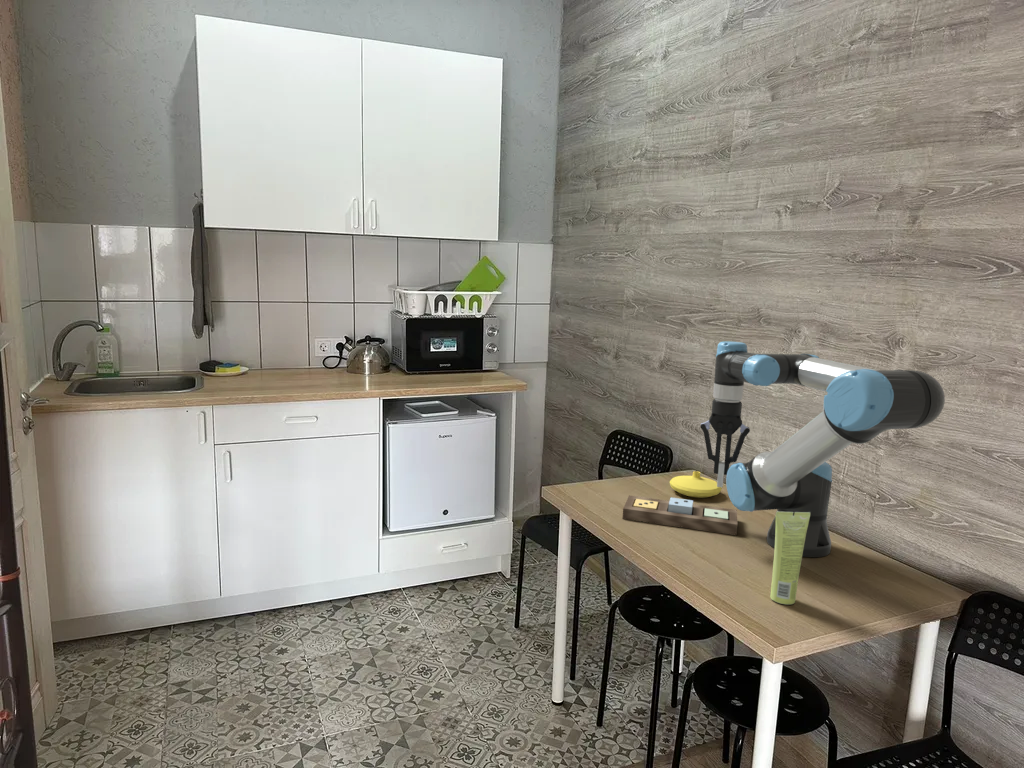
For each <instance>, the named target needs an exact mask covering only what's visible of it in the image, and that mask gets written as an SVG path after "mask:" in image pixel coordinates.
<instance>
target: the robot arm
mask: <svg viewBox="0 0 1024 768" xmlns="http://www.w3.org/2000/svg"><path fill="white" fill-rule="evenodd" d="M745 383H747V384H750V385H753V386H759V387H760V386H761V387H768V386H770V385H773V384H774V385H775V384H776V385H778V384H782V385H783V384H784V385H785V384H789V385H791V384H792V385H799V386H802V387H806V388H810V389H814V390H819V391H822V392H826V393H827V394H825V395H823V405H822V411H821V412H820V413H819V414H817V416H816V415H815V417H814V418H812V419H811V420H810V421H809V422H807V424H805V425H804V426H802V427H801V428H800V429H799V430H798V431H796V432H795V433H794V434H793V435H791V436H790V437H789V438H788V439H786V440H785V441H784V442H783V443H781V444H780V445H778V446H777V447H776V448H775V449H774V450H773V451H763V452H759V453H758V454H757V455H755V457H753V458H752V459H751V460H750V461H748V462H737V460H738V458H739V455H740V452H741V450H742V447H743V444H744V442H745V439H746V437H747V435H749V433H750V432H751V429H750V427H749V426H746V425H745V424H744V423H743V420H742V407H743V403H742V400H743V398H744V397H743V396H744V385H745ZM712 390H713V391H712V397H713V399H712V403H711V414H710V416H709V419H708V420H706V421H704V422H701V423H700V425H699V427H700V429H701V430H702V432H703V436H704V442H705V449H706V455H707V459H708V460H710V461H713V474H715V475H717V478H716V479H717V480H716V482H717V487H721V488H723V487H724V476H725V477H726V478H725V479H726V480H725V481H726V482H725V484H726V490H727V491H726V492H727V495H728V497H729V500H730V502H731V504H732V506H734V507H735V508H736V510H739V511H741V512H751V513H752V512H754V511H755V512H756V511H771V510H772V511H773V510H776V511H779V512H810V519H809V523H808V528H807V532H806V537H805V543H804V548H803V554H802V558H803V557H804V558H821V557H826V556H828V555H830V554H831V548H832V540H831V536H830V531H829V526H828V523H827V519H828V512H829V511H828V510H829V503H830V495H831V488H832V483H833V478H832V476H833V475H832V474H833V468H832V466H831V465H830V464H829V463H828V462H827V461H829V460H831V458H833V457H834V456H836V455H838V453H841V452H842V451H843V450H845V449H846V448H847V447H849V446H851V445H852V444H855V445H856V444H857V445H862V444H866V443H868V442H871V441H872V440H873V439H875V438H876V437H878V436H879V435H880V434H881V433H884V432H885V431H888V430H900V429H901V430H905V429H906V430H907V429H917V428H918V429H920V428H921V427H925V426H927V425H929V424H931V423H932V422H934V421H935V420H937V419H938V417H939V416H940V415H941V413H942V412H943V410H944V407H945V403H946V402H945V401H946V400H945V399H946V398H945V391H944V389H943V386H942V385H941V383H940V382H939V381H938V380H937V379H936V378H935V377H933V376H932V375H930V374H929V373H926V372H924V371H919V370H913V369H911V370H910V369H907V370H904V369H900V368H899V369H892V370H891V369H890V370H889V369H888V370H886V369H885V370H881V369H880V370H879V369H875V368H870V367H866V366H865V367H864V366H861V365H855V364H849V363H844V362H840V361H833V360H831V359H824V358H820V357H819V356H818V355H815V354H809V353H800V354H799V353H794V354H793V353H789V354H788V353H787V354H783V353H753V352H748V345H747V343H745V342H741V341H726V340H725V341H719V343H718V344H717V349H716V355H715V367H714V381H713V389H712ZM710 426H711V427H712V428H713V431H714V432H715V433H716V439H715V440H716V441H715V454H713V449H712V443H711V442H712V441H711V436H710V431H709V430H710V428H711V427H710ZM739 428H740V430H739ZM738 430H739V432H740V434H739V437H738V439H737V442H736V445H735V448H734V451H733V453H732V456H731V450H732V449H731V448H732V440H733V439H732V437H733V434H735V433H736V431H738ZM722 435H725V436H726V438H725V439H726V442H725V453H724V461H723V460H720V457H721V446H722V438H723V437H722ZM736 462H737V463H736ZM731 463H733V464H731ZM730 464H731V465H730ZM775 531H776V515H775V516H774V518H773V520H772V522H771V524H770V526H769V528H768V530H767V536H766V542H767V543H768V545H770V546H771V547H772V548H773V549H775Z"/></svg>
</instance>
